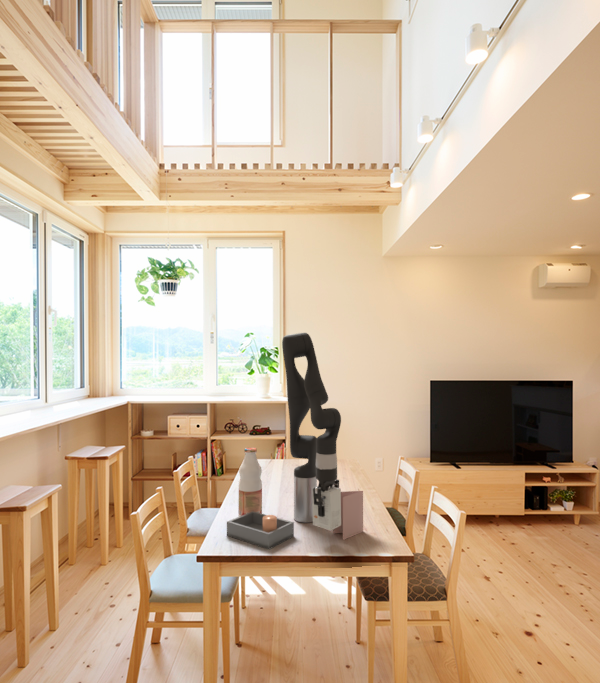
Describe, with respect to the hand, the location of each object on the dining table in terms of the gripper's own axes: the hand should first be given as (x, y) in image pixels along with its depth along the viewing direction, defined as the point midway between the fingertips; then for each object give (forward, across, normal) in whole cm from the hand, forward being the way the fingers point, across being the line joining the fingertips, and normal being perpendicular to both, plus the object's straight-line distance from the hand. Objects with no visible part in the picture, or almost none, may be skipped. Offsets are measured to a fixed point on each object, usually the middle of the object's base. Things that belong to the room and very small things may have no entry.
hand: (326, 513), depth 158 cm
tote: (+10, +9, -23) cm, 27 cm away
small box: (+5, 0, 0) cm, 5 cm away
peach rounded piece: (+9, +10, -18) cm, 22 cm away
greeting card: (+11, -10, +4) cm, 15 cm away
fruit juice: (+11, -2, -38) cm, 39 cm away
